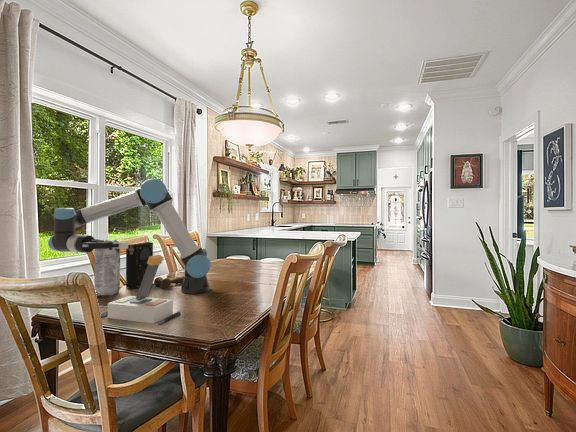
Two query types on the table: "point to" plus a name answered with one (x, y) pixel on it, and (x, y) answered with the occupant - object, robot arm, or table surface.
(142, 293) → the lever
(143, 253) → the voltmeter
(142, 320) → the breaker housing
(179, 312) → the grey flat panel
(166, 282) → the kendama
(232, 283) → the table surface
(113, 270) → the juice carton
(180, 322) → the table surface
